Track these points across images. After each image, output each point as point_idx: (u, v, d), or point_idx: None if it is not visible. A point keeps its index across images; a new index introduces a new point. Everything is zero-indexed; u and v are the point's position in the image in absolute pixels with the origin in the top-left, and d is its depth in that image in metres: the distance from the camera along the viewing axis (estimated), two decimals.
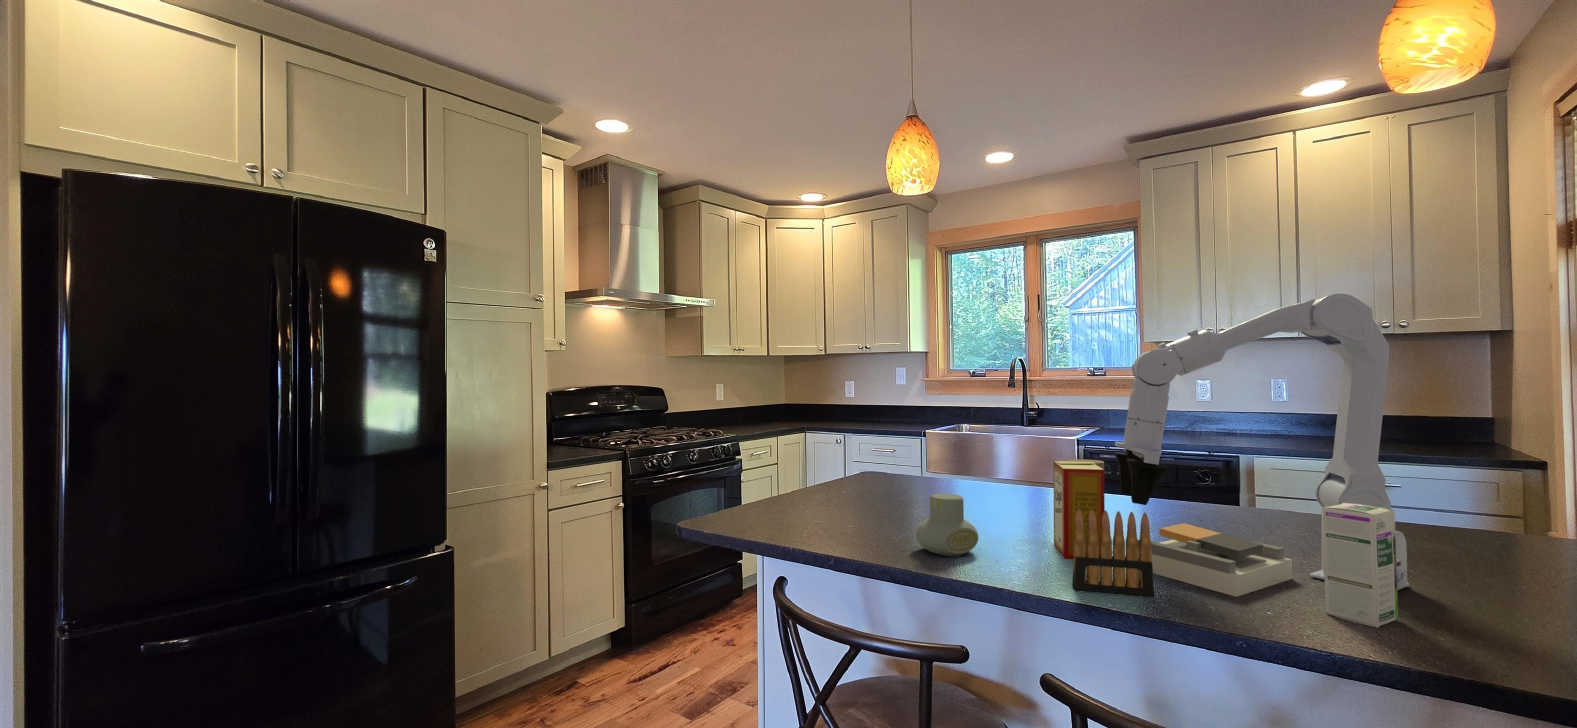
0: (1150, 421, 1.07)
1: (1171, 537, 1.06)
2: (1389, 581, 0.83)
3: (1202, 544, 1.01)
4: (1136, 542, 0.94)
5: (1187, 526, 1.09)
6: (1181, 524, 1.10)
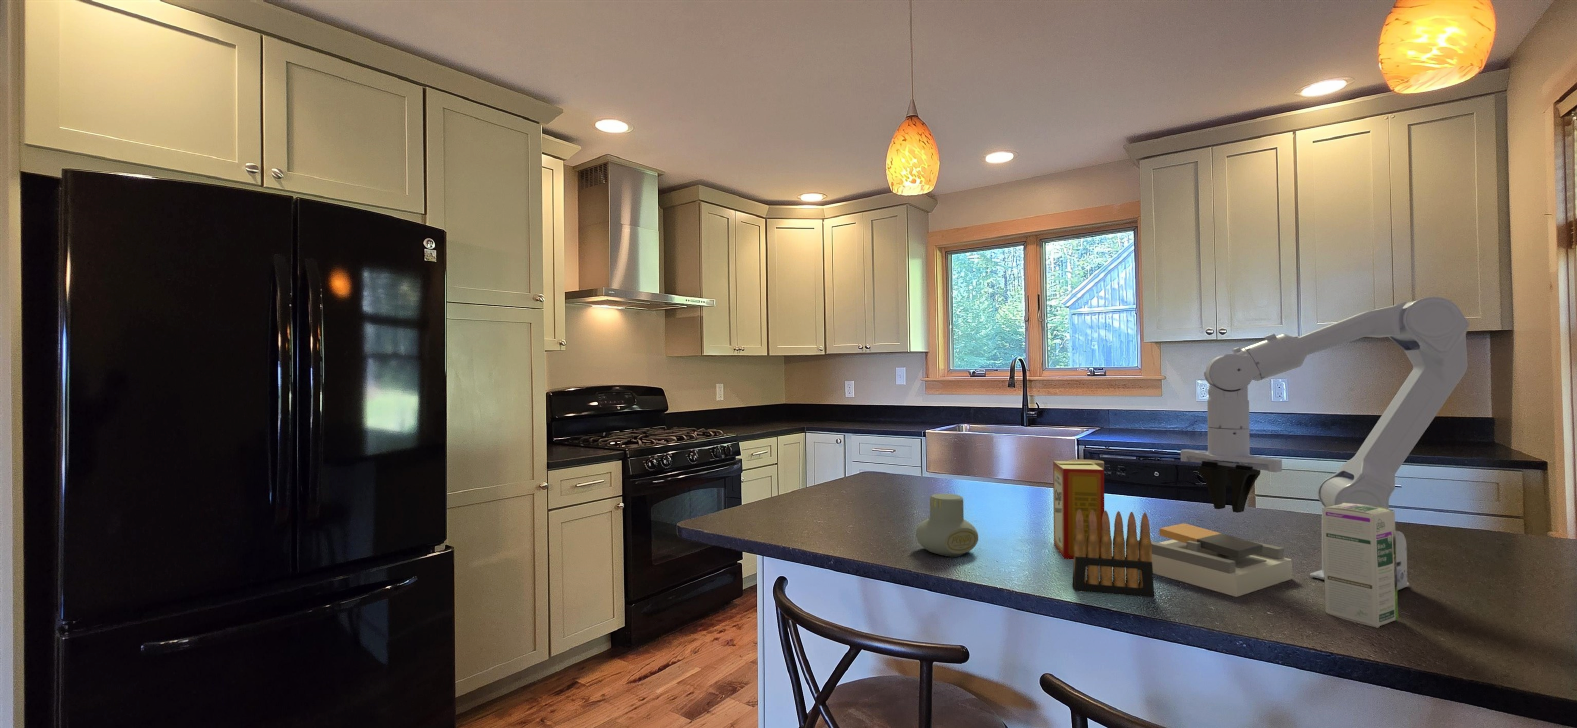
0: (1247, 428, 1.04)
1: (1171, 537, 1.06)
2: (1389, 581, 0.83)
3: (1202, 544, 1.01)
4: (1136, 542, 0.94)
5: (1187, 526, 1.09)
6: (1181, 524, 1.10)
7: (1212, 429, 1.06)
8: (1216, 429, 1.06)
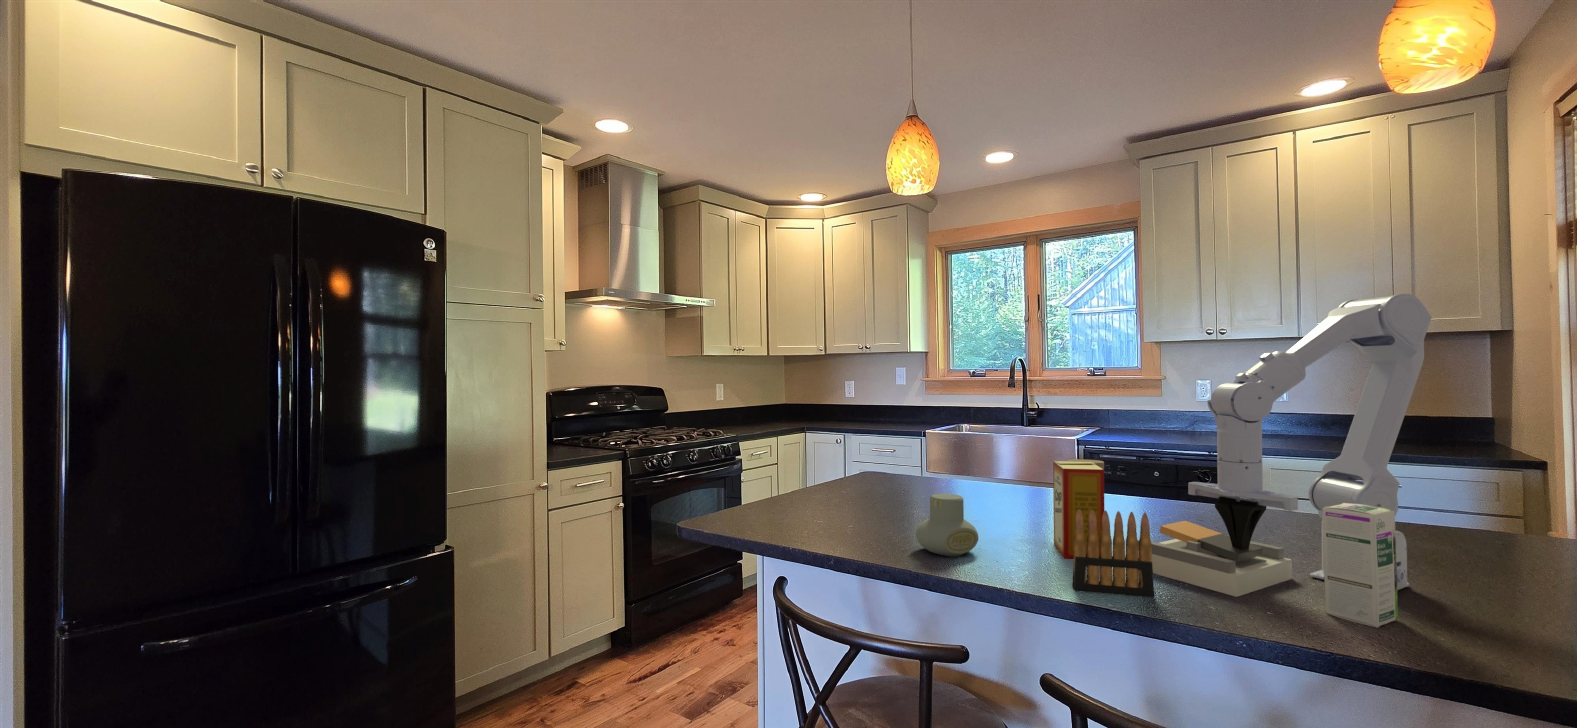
0: (1260, 462, 0.97)
1: (1171, 535, 1.06)
2: (1389, 581, 0.83)
3: (1202, 545, 1.01)
4: (1136, 542, 0.94)
5: (1188, 524, 1.09)
6: (1182, 522, 1.10)
7: (1222, 462, 1.00)
8: (1227, 462, 0.99)
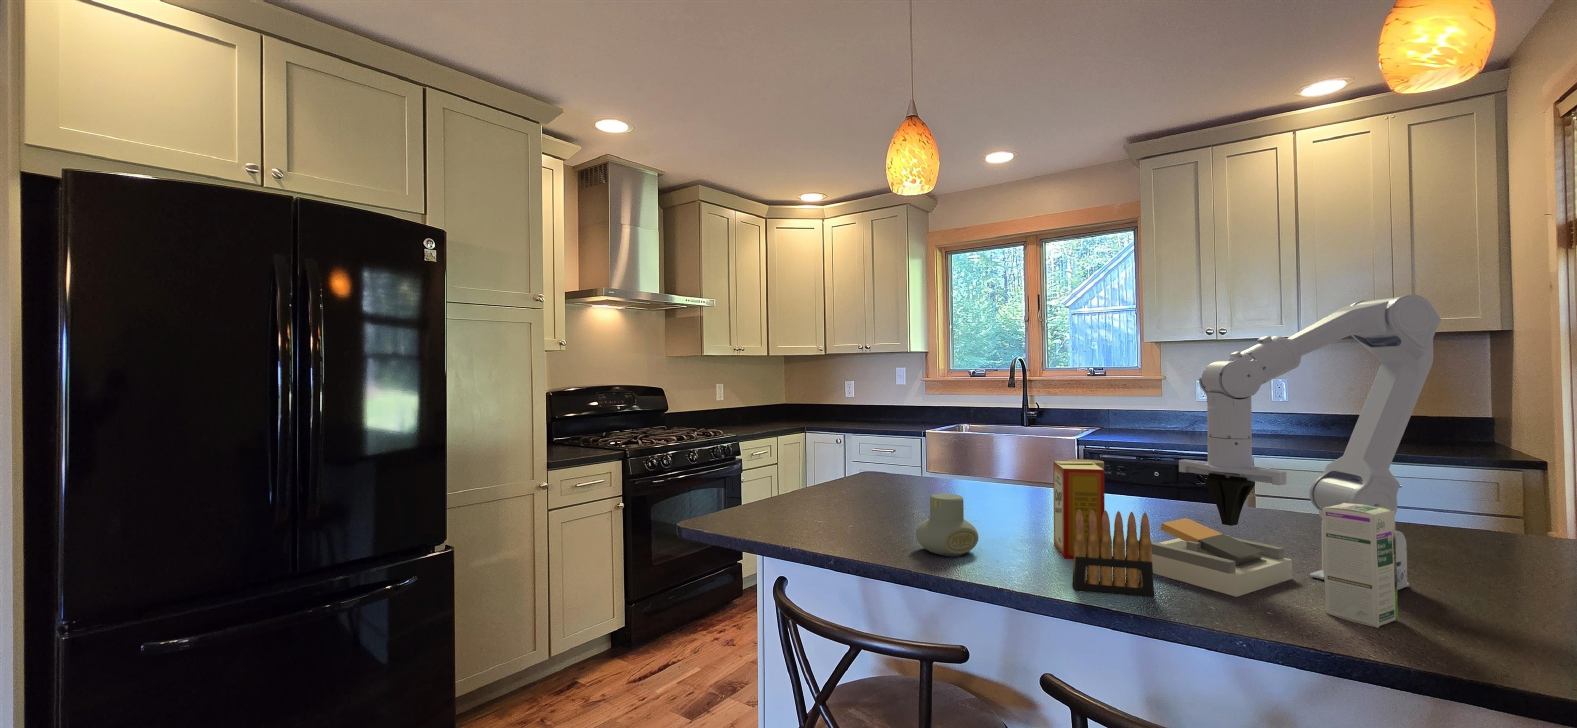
0: (1249, 438, 0.99)
1: (1172, 533, 1.05)
2: (1389, 581, 0.83)
3: (1203, 545, 1.01)
4: (1136, 542, 0.94)
5: (1189, 522, 1.08)
6: (1183, 519, 1.10)
7: (1212, 439, 1.01)
8: (1217, 439, 1.00)
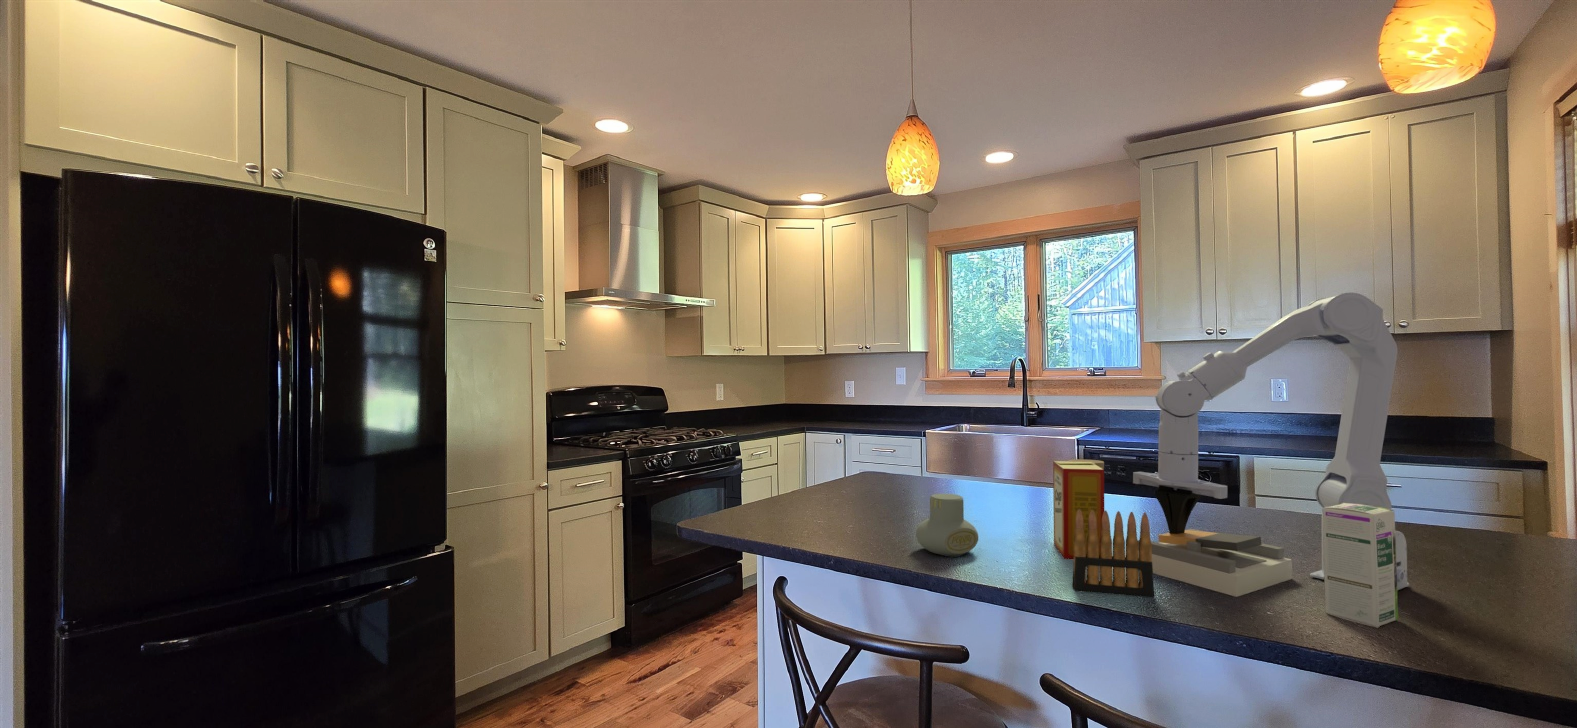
0: (1195, 453, 1.06)
1: (1171, 542, 1.06)
2: (1389, 580, 0.83)
3: (1201, 543, 1.01)
4: (1136, 542, 0.94)
5: (1186, 531, 1.09)
6: None
7: (1162, 454, 1.08)
8: (1166, 454, 1.07)
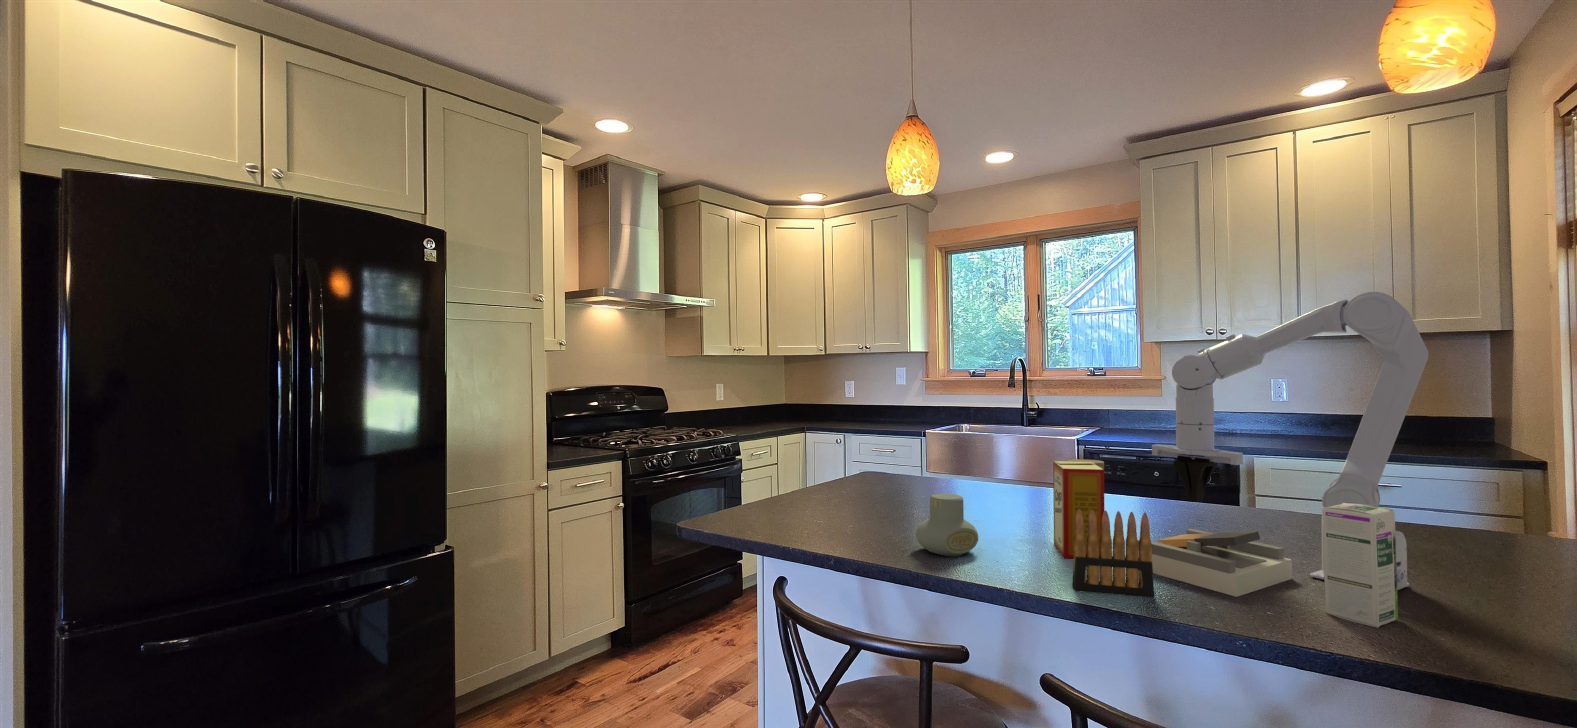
0: (1211, 424, 1.12)
1: (1171, 545, 1.06)
2: (1389, 580, 0.83)
3: (1200, 542, 1.02)
4: (1136, 542, 0.94)
5: (1185, 535, 1.09)
6: (1180, 535, 1.10)
7: (1180, 425, 1.14)
8: (1183, 425, 1.13)
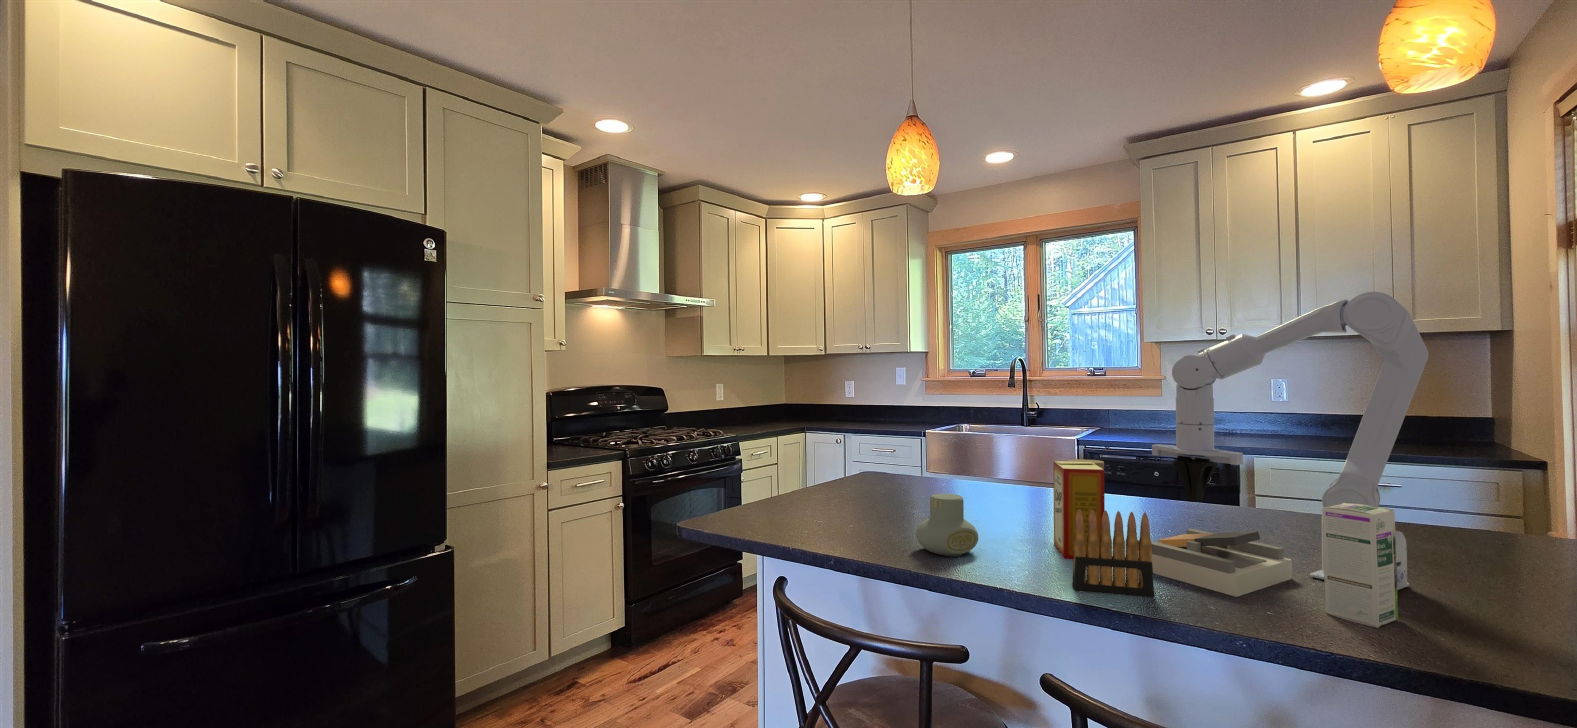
0: (1211, 424, 1.12)
1: (1171, 545, 1.06)
2: (1389, 581, 0.83)
3: (1200, 542, 1.02)
4: (1136, 542, 0.94)
5: (1185, 535, 1.09)
6: (1179, 535, 1.10)
7: (1180, 425, 1.14)
8: (1183, 425, 1.13)
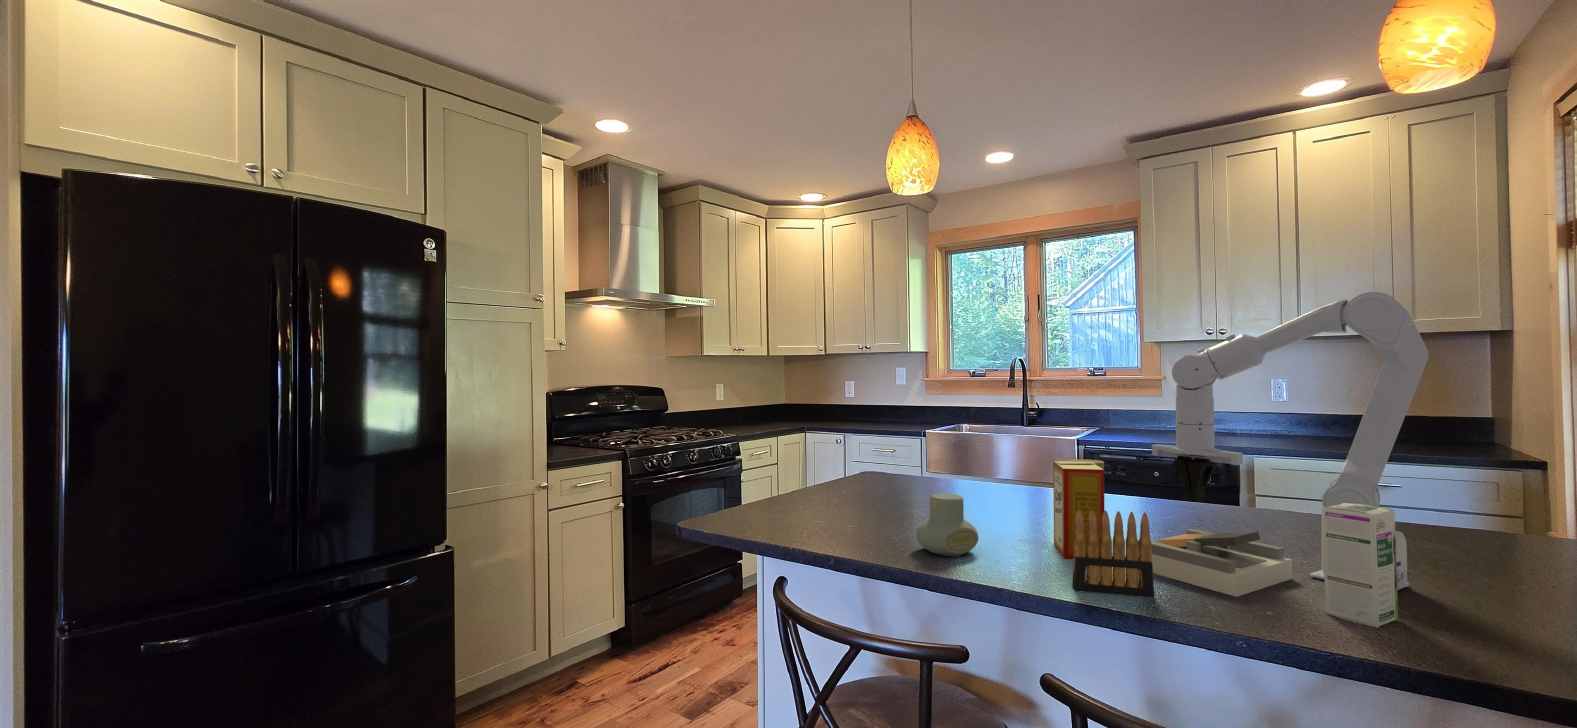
0: (1211, 424, 1.12)
1: (1171, 545, 1.06)
2: (1389, 581, 0.83)
3: (1200, 542, 1.02)
4: (1136, 542, 0.94)
5: (1185, 535, 1.09)
6: (1179, 535, 1.10)
7: (1180, 425, 1.14)
8: (1183, 425, 1.13)
